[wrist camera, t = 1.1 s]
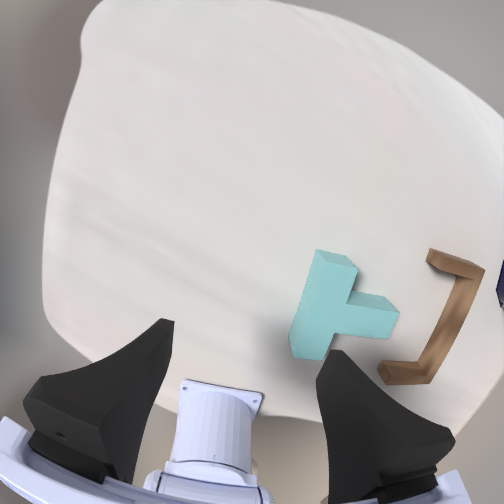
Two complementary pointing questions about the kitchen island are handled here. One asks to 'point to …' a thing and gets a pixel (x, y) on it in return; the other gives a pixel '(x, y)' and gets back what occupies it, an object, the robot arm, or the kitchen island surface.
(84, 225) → the kitchen island surface
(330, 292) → the t block
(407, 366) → the wooden drawer handle
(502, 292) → the bottle
